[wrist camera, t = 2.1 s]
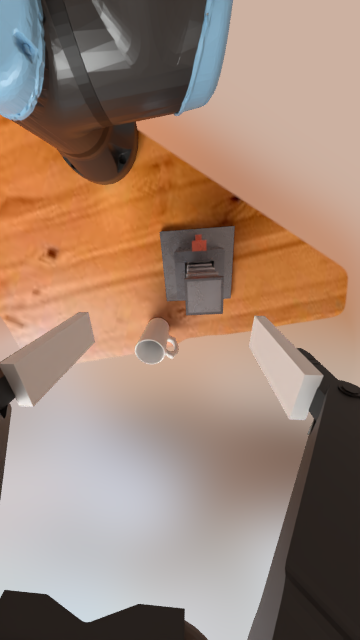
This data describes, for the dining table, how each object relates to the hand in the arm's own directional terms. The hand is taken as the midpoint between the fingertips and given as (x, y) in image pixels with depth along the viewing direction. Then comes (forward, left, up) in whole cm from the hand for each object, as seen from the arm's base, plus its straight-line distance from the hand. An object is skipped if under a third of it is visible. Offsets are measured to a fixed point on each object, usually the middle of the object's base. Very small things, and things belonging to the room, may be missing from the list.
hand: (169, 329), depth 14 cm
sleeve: (0, +3, -32) cm, 32 cm away
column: (0, +3, -30) cm, 31 cm away
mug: (+17, -7, -32) cm, 37 cm away
